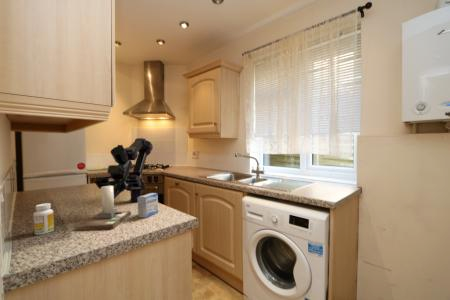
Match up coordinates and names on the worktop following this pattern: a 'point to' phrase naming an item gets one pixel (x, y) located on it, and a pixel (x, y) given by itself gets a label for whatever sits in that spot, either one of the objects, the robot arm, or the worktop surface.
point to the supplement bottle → (43, 219)
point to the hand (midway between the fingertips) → (112, 198)
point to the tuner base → (103, 222)
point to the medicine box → (147, 205)
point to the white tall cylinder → (107, 202)
